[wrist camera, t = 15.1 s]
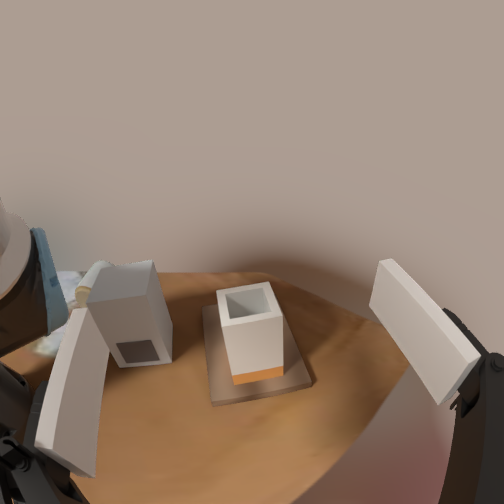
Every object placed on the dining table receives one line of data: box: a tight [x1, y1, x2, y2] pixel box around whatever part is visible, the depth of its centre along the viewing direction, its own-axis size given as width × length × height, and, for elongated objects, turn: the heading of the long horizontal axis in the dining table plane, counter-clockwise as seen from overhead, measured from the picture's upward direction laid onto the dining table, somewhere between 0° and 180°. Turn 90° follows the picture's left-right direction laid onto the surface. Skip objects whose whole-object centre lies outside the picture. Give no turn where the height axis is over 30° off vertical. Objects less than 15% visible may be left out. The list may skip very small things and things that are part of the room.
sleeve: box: [216, 282, 283, 385], centre depth 33 cm, size 6×6×10 cm
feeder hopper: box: [86, 260, 173, 368], centre depth 37 cm, size 8×8×12 cm
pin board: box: [202, 294, 312, 407], centre depth 38 cm, size 12×18×5 cm, turn 10°
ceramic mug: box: [75, 260, 115, 308], centre depth 47 cm, size 11×8×8 cm
